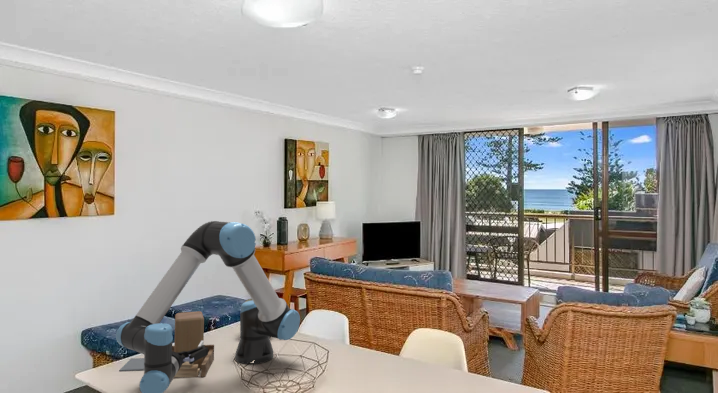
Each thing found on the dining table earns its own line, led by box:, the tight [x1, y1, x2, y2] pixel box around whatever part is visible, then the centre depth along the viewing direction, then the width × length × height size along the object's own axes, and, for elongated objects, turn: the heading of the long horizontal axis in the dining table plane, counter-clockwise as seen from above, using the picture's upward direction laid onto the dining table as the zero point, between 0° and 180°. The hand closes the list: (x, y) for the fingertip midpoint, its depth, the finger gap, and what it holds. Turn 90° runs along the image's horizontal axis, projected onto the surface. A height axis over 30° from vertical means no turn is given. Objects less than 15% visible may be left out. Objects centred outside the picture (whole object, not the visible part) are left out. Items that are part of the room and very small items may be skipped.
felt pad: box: [119, 357, 144, 372], centre depth 172 cm, size 12×12×1 cm
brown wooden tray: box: [172, 344, 215, 379], centre depth 169 cm, size 18×16×6 cm
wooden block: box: [173, 310, 205, 370], centre depth 171 cm, size 10×10×20 cm
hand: (183, 344), depth 163 cm, fingers open, 13 cm apart
